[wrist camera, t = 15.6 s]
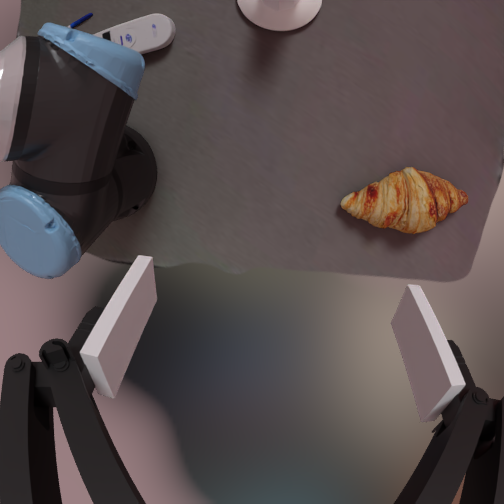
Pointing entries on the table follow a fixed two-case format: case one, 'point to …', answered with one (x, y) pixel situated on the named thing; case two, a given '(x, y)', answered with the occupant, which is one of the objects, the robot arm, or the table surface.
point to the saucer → (280, 14)
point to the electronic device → (142, 33)
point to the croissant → (405, 201)
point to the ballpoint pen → (80, 20)
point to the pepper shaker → (280, 4)
